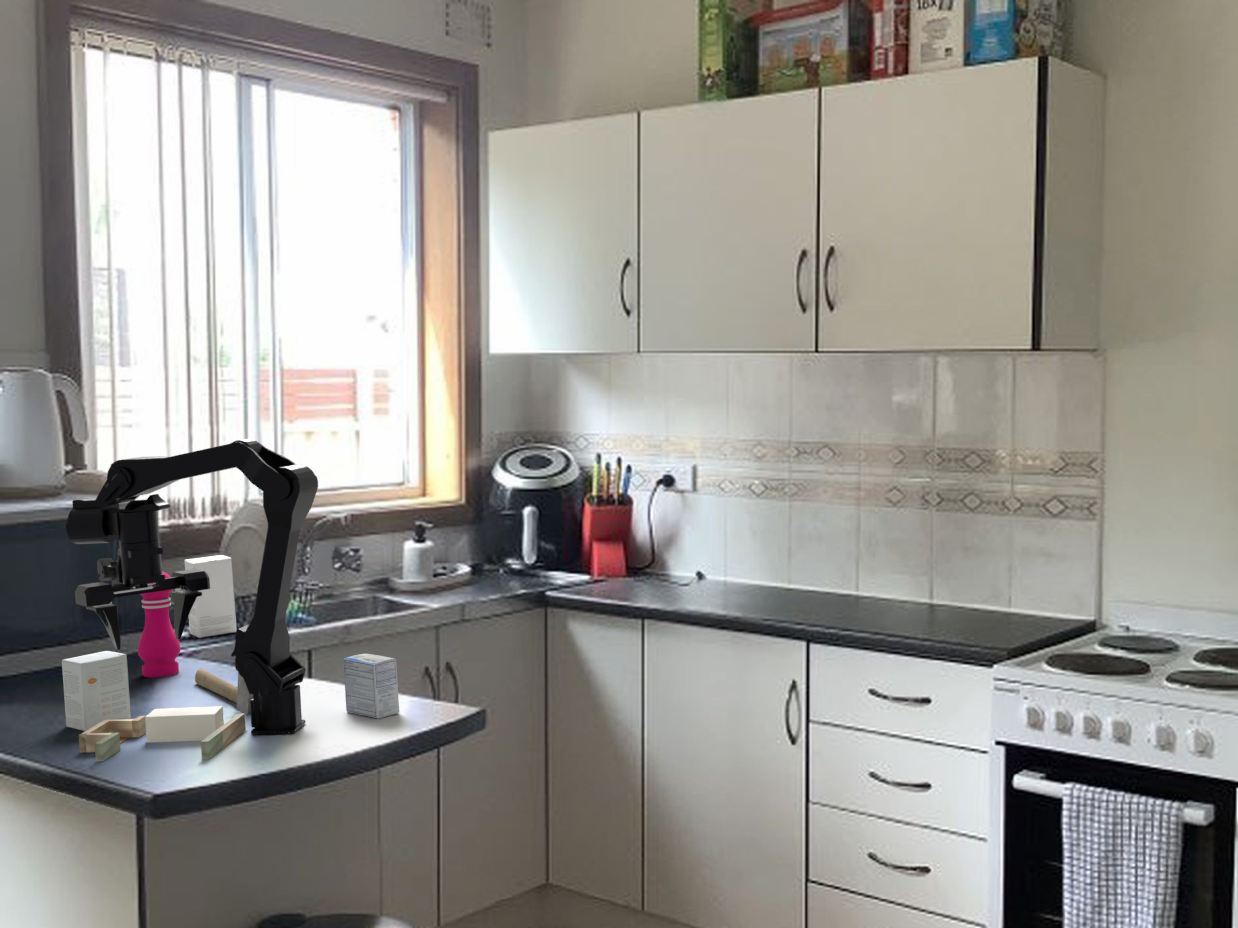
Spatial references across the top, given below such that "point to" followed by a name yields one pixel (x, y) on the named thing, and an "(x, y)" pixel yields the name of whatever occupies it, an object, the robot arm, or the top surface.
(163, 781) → the top surface
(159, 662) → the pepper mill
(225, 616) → the skincare box
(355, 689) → the medicine box
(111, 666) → the small box
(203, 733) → the cream block
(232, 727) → the u-shaped wooden frame
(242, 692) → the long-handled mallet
